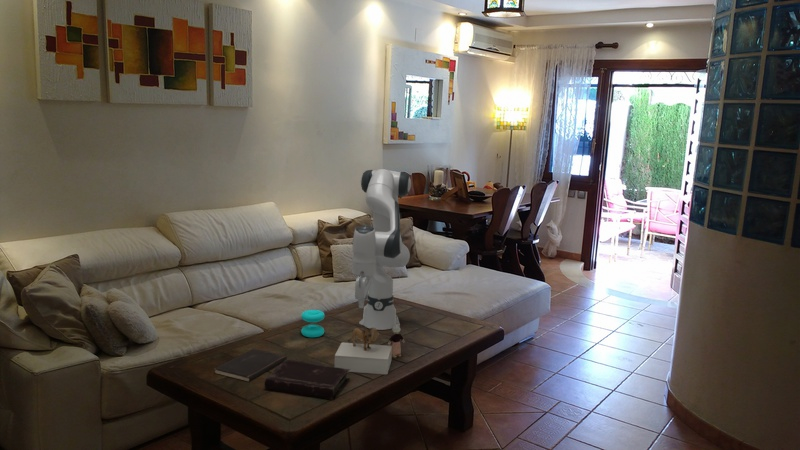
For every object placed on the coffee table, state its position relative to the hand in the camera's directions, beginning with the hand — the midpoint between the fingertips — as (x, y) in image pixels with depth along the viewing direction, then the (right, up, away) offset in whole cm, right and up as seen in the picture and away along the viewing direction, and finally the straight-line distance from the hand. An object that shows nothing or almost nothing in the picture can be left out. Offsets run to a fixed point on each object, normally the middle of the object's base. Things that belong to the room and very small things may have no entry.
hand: (363, 303), depth 239 cm
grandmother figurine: (+12, -23, +12) cm, 28 cm away
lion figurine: (0, -17, +4) cm, 18 cm away
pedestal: (0, -24, +1) cm, 24 cm away
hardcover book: (-42, -24, -4) cm, 48 cm away
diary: (-18, -27, -18) cm, 37 cm away
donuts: (-24, -18, +33) cm, 44 cm away
